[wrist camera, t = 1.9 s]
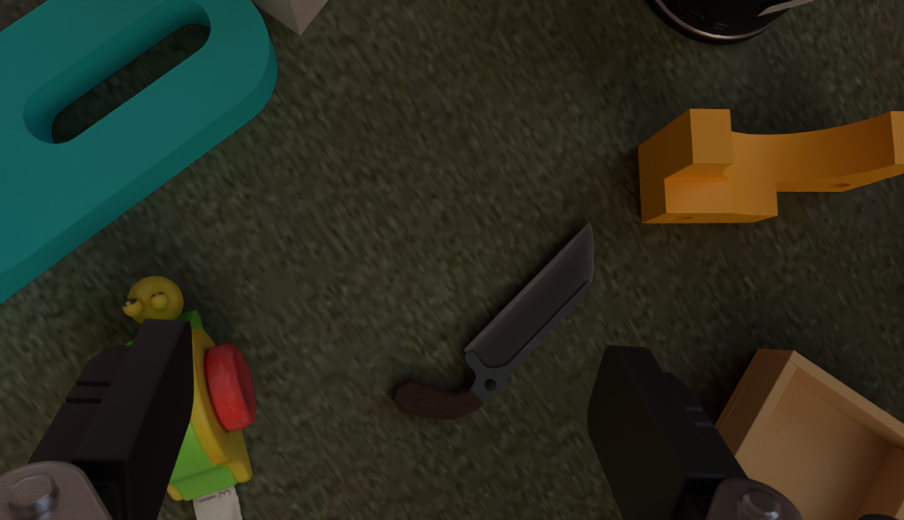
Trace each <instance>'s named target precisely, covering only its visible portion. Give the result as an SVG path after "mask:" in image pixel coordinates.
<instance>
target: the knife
mask: <svg viewBox="0 0 904 520" xmlns="http://www.w3.org/2000/svg"><path fill="white" fill-rule="evenodd" d="M593 251H594V238H593V232H592V228H591V224H590V223H588V224H587V225H586V226H585V227H584V228H583V229H582V230H581V231H580V232H579V233H578V234H577V235H576V236H575V237H574V238H573V239H572V240H571V241H570V242H569V243H568V244H567V245H566V246H565V247H564V248H563V249H562V250H561V251H560V252H559V253H558V254H557V255H556V256H555V257H554V258H553V259H552V260H551V261H550V262H549V263H548V264H547V265H546V266H545V267H544V268H543V269H542V271H541V272H540V273H539V274H538V275H537V276H536V277H535V278H534V279H533V280H532V281H531V282H530V283H529V284H528V285H527V286H526V287H525V288H524V289H523V290H522V291H521V292H520V293H519V294H518V295H517V296H516V297H515V298H514V299H513V300H512V301H511V302H510V303H509V304H508V305H507V306H506V307H505V308H504V309H503V310H502V311H501V312H500V313H499V314H498V315H497V316H496V317H495V318H494V319H493V320H492V321H491V322H490V323H489V324H488V326H487V327H486V328H485V329H484V330H483V331H482V332H481V333H480V334H479V335H478V336H477V337H476V338H475V339H474V340H473V341H472V342H471V343H470V344H469V345H468V346H467V347H466V348H465V349H464V351H465V352H466V354H465V355H464V358H465V362H466V363H467V364H468V365H469V366H470V367H471V369H472V370H473V371H474V372H475V376H476V378H475V380H474V382H473V384H472V385H471V387H470V388H466V389H464V390H462V391H460V392H455V393H450V392H445V391H443V390H440V389H438V388H436V387H433V386H431V385H429V384H426V383H424V382H420V381H417V380H413V379H408V380H405V381H403V382H401V383H399V384H396V386H395V389H394V391H393V394H392V397H391V399H392V400H393V401H394V402H395V403H396V404H397V405H398V407H399V408H400V409H401V410H402V411H403V412H405V413H409V414H412V415H416V416H420V417H428V418H436V419H446V420H453V419H456V418H460V417H464V416H466V415H468V414H471V413H473V412H474V411H476V410H477V409H478V408H480V407H481V406H482V405H483V402H485V401H487V400H489V399H490V398H492V397H493V396H494V395H495V394H497V393H498V392H499V391H500V390H501V388H502V387H503V385H504V384H505V382H506V381H507V379H508V378H509V376H510V375H511V373H512V371H513V370H514V369H515V368H516V367H517V366H518V365H519V364H520V362H521V361H522V360H523V359H524V358H525V357H526V356H527V355H528V354H529V353H530V352H531V351H532V350H533V349H534V348H535V347H536V346H537V345H538V344H539V343H540V342H541V341H542V340H543V339H544V337H545V336H546V335H547V334H548V333H549V332H550V331H551V330H552V329H553V328H554V327H555V326H556V325H557V324H558V323H559V322H560V321H561V320H562V319H563V318H564V317H565V316H566V315H567V314H568V313H569V311H570V310H571V309H572V308H573V307H574V306H575V305H576V304H577V303H578V302H579V301H580V300H581V299H582V298H583V297H584V296H585V295H586V293H587V292H588V291H589V289H590V287H591V284H590V283H591V280H592V277H593V272H594V256H593ZM490 378H491V379H493V380H494V381H495V384H496V385H495V388H494V389H493V390H491V391H487V390H486V389H485V388H484V382H485V381H486V380H487V379H490Z"/></svg>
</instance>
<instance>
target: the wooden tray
mask: <svg viewBox="0 0 904 520" xmlns="http://www.w3.org/2000/svg"><path fill="white" fill-rule="evenodd" d="M714 428H716V429H717V430H718V432H719V433H720V435H721V436H722V438H723V439H724V441H725V442H726V444H727V445H728V447H729V449H730V450H731V452H732V453H733V455H734V456H735V458H736V459H737V461H738V462H739V464H740V465H741V467H742V469H743V470H744V472H745V473H746V475H747V476H748V478H749V479H753V480H757V481H759V482H762V483H764V484H767V485H769V486H771V487H772V488H774V489H776V490H777V491H779V492H780V493H782V494H783V495H784V496H785V497H787V498H788V499H789V500H790V501H791V502H792V503H793V504H794V506H795V507H796V508H797V509H798V511H799V512H800V514H801V516H802V518H803V520H858V519H859V518H860V517H862V516H864V515H867V514H882V515H887V516H891V517H894V518H897V519H899V520H904V424H903V423H901V422H900V421H898V420H897V419H895V418H894V417H892V416H891V415H889V414H888V413H886V412H885V411H883V410H882V409H880V408H879V407H877V406H876V405H874V404H873V403H871V402H870V401H868V400H867V399H865V398H864V397H862V396H861V395H859V394H858V393H856V392H855V391H854V390H852V389H851V388H849V387H848V386H846V385H845V384H843V383H842V382H840V381H839V380H837V379H836V378H834V377H833V376H831V375H830V374H828V373H827V372H825V371H824V370H822V369H821V368H819V367H818V366H816V365H815V364H813V363H812V362H810V361H809V360H807V359H806V358H804V357H803V356H801V355H800V354H799V353H797V352H796V351H794V350H774V349H758V350H757V352H756V353H755V355H754V357H753V359H752V360H751V362H750V364H749V366H748V367H747V369H746V371H745V373H744V374H743V376H742V378H741V380H740V382H739V383H738V385H737V387H736V389H735V390H734V392H733V394H732V396H731V397H730V399H729V401H728V403H727V404H726V406H725V408H724V410H723V411H722V413H721V415H720V417H719V419H718V420H717V422H716V424H715V426H714Z"/></svg>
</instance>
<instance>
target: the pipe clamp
mask: <svg viewBox="0 0 904 520" xmlns="http://www.w3.org/2000/svg"><path fill="white" fill-rule="evenodd" d="M638 158H639V178H640V197H641V216H642V223H753V222H757V221H760V220H763V219H767V218H770V217H774V216H777V215H778V210H777V196H776V192H843V191H846V190H850V189H853V188H856V187H860V186H863V185H866V184H870V183H873V182H876V181H879V180H883V179H886V178H889V177H893V176H896V175H899V174H902V173H904V112H903V111H890V112H888V113H885V114H883V115H880V116H877V117H874V118H871V119H868V120H864V121H861V122H857V123H853V124H849V125H845V126H840V127H835V128H830V129H824V130H818V131H811V132H803V133H794V134H779V135H753V134H743V133H737V132H732V131H731V120H730V109H689V110H688V111H686V112H685V113H684V114H682V115H681V116H679V117H678V118H677V119H675V120H674V121H672V122H671V123H670V124H668V125H667V126H665V127H664V128H663V129H661V130H660V131H658V132H657V133H656V134H654V135H653V136H652V137H650V138H649V139H647V140H646V141H645V142H643V143H642V144H640V145H639V146H638Z"/></svg>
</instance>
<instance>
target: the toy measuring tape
mask: <svg viewBox="0 0 904 520" xmlns="http://www.w3.org/2000/svg"><path fill="white" fill-rule="evenodd" d="M183 303H184V301H183V296H182V293H181V291H180V289H179V287H178V286H177V285H176V284H175V283H174V282H173V281H171V280H170V279H168V278H165V277H161V276H149V277H146V278H143V279H141V280H139V281H138V282H137V283H136V284H135V285H134V286H133V287H132V288H131V290H130V292H129V294H128V299H127V300H126V301H125V302H124V304H123V311H124V313H125V314H126V315H128V316H130V317H133V319H134V320H135V321H136V322H138V323H139V324H141V325H142V323H143V322H144V320H145V319H165V320H183V321H189V322H190V324H191V328H192V347H193V370H194V402H193V409H192V415H191V419H190V423H189V426H188V429H187V432H186V435H185V438H184V441H183V443H182V446H181V449H180V452H179V455H178V458H177V461H176V464H175V467H174V470H173V473H172V476H171V479H170V482H169V485H168V488H167V491H168V493H169V495H170V496H171V497H172V498H173V499H174V500H176V501H179V500H182V499H184V500H185V501H189V500H192V499H193V507H194V511H195V515H196V519H197V520H242V516H241V512H240V505H239V497H238V495H237V494H236V490H235V486H234V485H236V484H237V483H238V482H239V483H243V482H246V481H249V480H250V479H251V477H252V468H251V464H250V460H249V456H248V452H247V448H246V444H245V440H244V437H243V433H242V429H244V428H247V427H248V426H250V425H251V424H252V423H253V422H254V420H255V417H256V398H255V392H254V386H253V381H252V377H251V374H250V371H249V368H248V365H247V363H246V360H245V358H244V356H243V354H242V352H241V351H240V349H239V348H238V347H236V346H235V345H232V344H227V343H225V344H221V345H217V346H215V344H214V342H213V341H212V339H211V338H210V336H209V335H208V334H207V333H206V332H205V331H204V329H203V325H202V321H201V317H200V315H199V313H198V311H196V310H193V311H189V312H186V313H182V314H181V312H182V309H183ZM132 342H133V340H132V341H129V342H128V343H126V344H125V345H131V344H132Z"/></svg>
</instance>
